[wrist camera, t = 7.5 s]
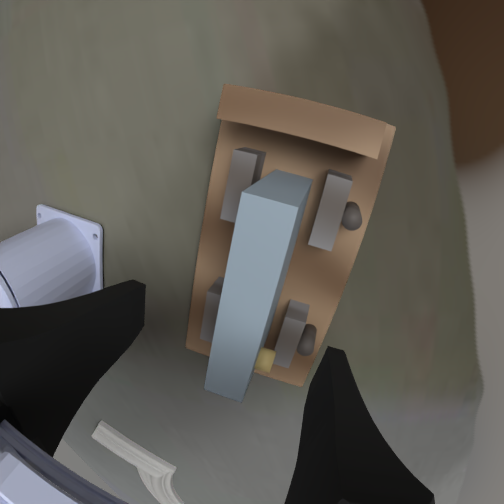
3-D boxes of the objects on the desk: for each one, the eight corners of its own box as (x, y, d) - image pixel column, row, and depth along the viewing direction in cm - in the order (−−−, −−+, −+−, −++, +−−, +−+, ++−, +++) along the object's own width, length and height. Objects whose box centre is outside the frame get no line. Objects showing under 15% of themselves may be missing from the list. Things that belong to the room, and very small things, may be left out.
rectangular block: (281, 334, 21) (256, 407, 15) (240, 321, 21) (203, 389, 15) (327, 183, 16) (321, 214, 11) (276, 169, 17) (242, 191, 11)
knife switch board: (304, 373, 23) (294, 422, 19) (193, 336, 25) (164, 377, 20) (391, 127, 16) (410, 126, 11) (237, 88, 17) (203, 76, 13)
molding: (86, 413, 37) (74, 426, 34) (150, 426, 33) (139, 443, 30) (198, 534, 49) (193, 544, 46) (250, 544, 45) (246, 555, 42)
